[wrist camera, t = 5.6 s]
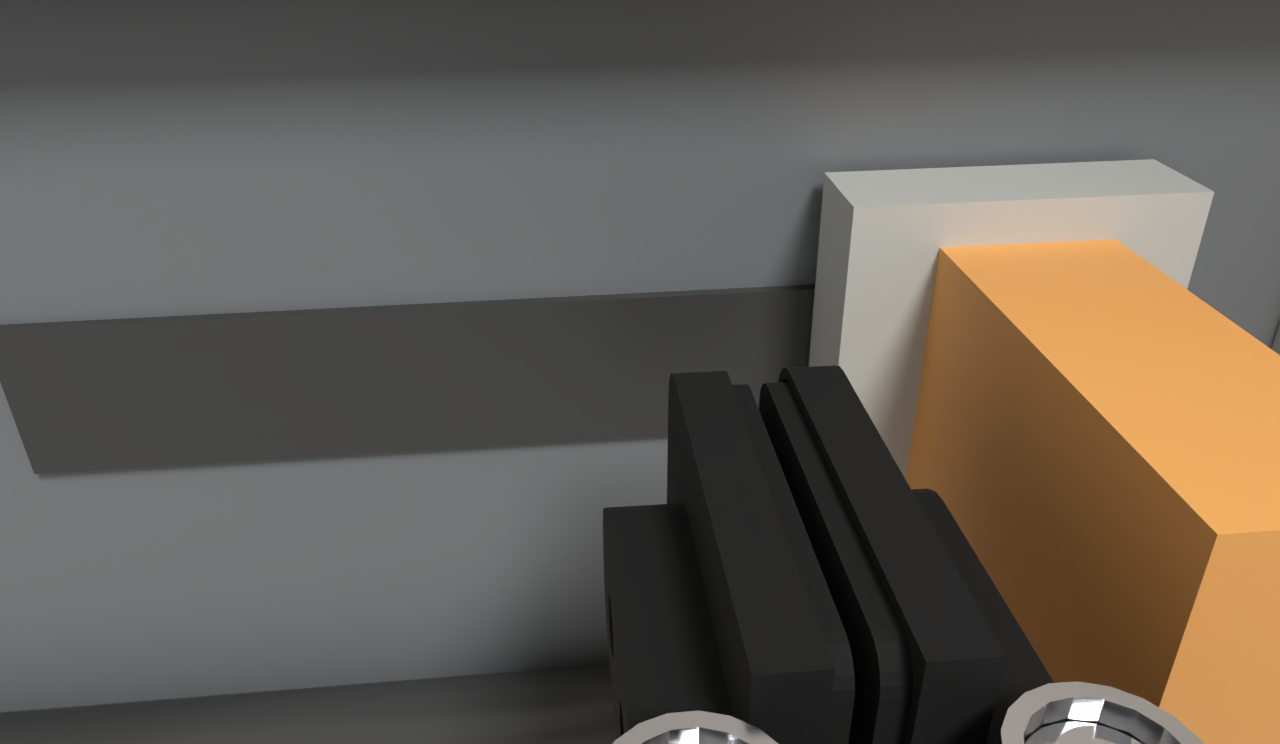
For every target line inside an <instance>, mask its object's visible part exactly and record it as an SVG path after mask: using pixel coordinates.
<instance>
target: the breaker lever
mask: <svg viewBox="0 0 1280 744" xmlns="http://www.w3.org/2000/svg"><path fill="white" fill-rule="evenodd" d="M1213 195H1214V191H1212V190H1210V189H1208V188H1207V187H1205V186H1203V185H1201V184H1199V183H1197V182H1195V181H1194V180H1192V179H1190V178H1188V177H1186V176H1184V175H1182V174H1181V173H1179V172H1177V171H1175V170H1173V169H1171V168H1169V167H1168V166H1166V165H1164V164H1162V163H1160V162H1158V161H1156V160H1155V159H1146V160H1121V161H1096V162H1072V163H1047V164H1022V165H998V166H973V167H948V168H924V169H899V170H874V171H849V172H825V173H824V184H823V196H822V208H821V221H820V233H819V245H818V257H817V269H816V282H815V294H814V306H813V318H812V330H811V343H810V355H809V367H813V366H833V365H837V366H840V367H841V368H842V370H843V371H844V373H845V374H846V376H847V378H848V380H849V381H850V383H851V385H852V387H853V388H854V390H855V392H856V394H857V395H858V397H859V399H860V401H861V402H862V404H863V406H864V408H865V409H866V411H867V413H868V415H869V416H870V418H871V420H872V422H873V423H874V425H875V427H876V429H877V430H878V432H879V434H880V436H881V437H882V439H883V441H884V443H885V444H886V446H887V448H888V450H889V451H890V453H891V455H892V457H893V458H894V460H895V462H896V464H897V465H898V467H899V469H900V471H901V472H902V474H903V476H904V478H905V479H906V481H907V483H908V485H909V486H910V488H911V489H927V488H928V489H931V490H933V491H936V493H937V494H938V495H939V496H940V497H941V499H942V500H943V501H944V503H945V504H946V506H947V507H948V509H949V511H950V512H951V514H952V516H953V517H954V519H955V521H956V522H957V524H958V525H959V527H960V529H961V530H962V532H963V534H964V535H965V537H966V539H967V540H968V542H969V544H970V545H971V547H972V548H973V550H974V552H975V553H976V555H977V557H978V558H979V560H980V562H981V563H982V565H983V566H984V568H985V570H986V571H987V573H988V575H989V576H990V578H991V580H992V581H993V583H994V585H995V586H996V588H997V589H998V591H999V593H1000V594H1001V596H1002V598H1003V599H1004V601H1005V603H1006V604H1007V606H1008V607H1009V609H1010V611H1011V612H1012V614H1013V616H1014V617H1015V619H1016V621H1017V622H1018V624H1019V626H1020V627H1021V629H1022V630H1023V632H1024V634H1025V635H1026V637H1027V639H1028V640H1029V642H1030V644H1031V645H1032V647H1033V648H1034V650H1035V652H1036V653H1037V655H1038V657H1039V658H1040V660H1041V662H1042V663H1043V665H1044V666H1045V668H1046V670H1047V671H1048V673H1049V675H1050V676H1051V678H1052V680H1053V681H1054V683H1061V682H1076V681H1079V682H1085V683H1092V684H1098V685H1104V686H1110V687H1113V688H1116V689H1119V690H1121V691H1124V692H1127V693H1130V694H1132V695H1135V696H1138V697H1141V698H1143V699H1145V700H1147V701H1149V702H1150V703H1152V704H1154V705H1155V706H1157V707H1159V708H1160V709H1162V710H1164V711H1166V712H1167V713H1169V714H1171V715H1172V716H1174V717H1175V718H1177V719H1178V720H1179V721H1180V722H1181V723H1182V724H1183V725H1185V726H1186V727H1187V728H1188V729H1189V730H1190V731H1191V732H1193V733H1194V734H1195V735H1196V736H1197V737H1198V738H1199V739H1201V740H1202V741H1203V743H1204V744H1280V355H1279V354H1277V353H1276V352H1274V351H1273V350H1272V349H1270V348H1269V347H1267V346H1266V345H1265V344H1263V343H1262V342H1260V341H1259V340H1257V339H1256V338H1255V337H1253V336H1252V335H1250V334H1249V333H1248V332H1246V331H1245V330H1243V329H1242V328H1241V327H1239V326H1238V325H1236V324H1235V323H1234V322H1232V321H1231V320H1229V319H1228V318H1226V317H1225V316H1224V315H1222V314H1221V313H1219V312H1218V311H1217V310H1215V309H1214V308H1212V307H1211V306H1210V305H1208V304H1207V303H1205V302H1204V301H1203V300H1201V299H1200V298H1198V297H1197V296H1195V295H1194V294H1193V293H1191V292H1190V291H1188V290H1187V288H1188V285H1189V281H1190V277H1191V274H1192V270H1193V267H1194V263H1195V260H1196V256H1197V252H1198V249H1199V245H1200V242H1201V238H1202V235H1203V231H1204V227H1205V224H1206V220H1207V217H1208V213H1209V210H1210V206H1211V202H1212V199H1213Z"/></svg>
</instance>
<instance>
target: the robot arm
mask: <svg viewBox="0 0 1280 744" xmlns="http://www.w3.org/2000/svg"><path fill="white" fill-rule="evenodd" d="M603 555H604V587H605V608H606V625H607V639H608V651H609V663H610V673H611V683H612V694H613V704H614V715H615V725H616V736H617V739H616V740H615V741H614V742H613V744H1204V743H1203V741H1202V740H1201V739H1199V738H1198V737H1197V736H1196V735H1195V734H1194V733H1193V732H1191V731H1190V730H1189V729H1188V728H1187V727H1186V726H1185V725H1183V724H1182V723H1181V722H1180V721H1179V720H1178V719H1177V718H1175V717H1174V716H1172V715H1171V714H1169V713H1167V712H1166V711H1164V710H1162V709H1160V708H1159V707H1157V706H1155V705H1154V704H1152V703H1150V702H1149V701H1147V700H1145V699H1143V698H1141V697H1138V696H1135V695H1132V694H1130V693H1127V692H1124V691H1121V690H1119V689H1116V688H1113V687H1110V686H1104V685H1098V684H1092V683H1085V682H1079V681H1076V682H1061V683H1054V681H1053V680H1052V678H1051V676H1050V675H1049V673H1048V671H1047V670H1046V668H1045V666H1044V665H1043V663H1042V662H1041V660H1040V658H1039V657H1038V655H1037V653H1036V652H1035V650H1034V648H1033V647H1032V645H1031V644H1030V642H1029V640H1028V639H1027V637H1026V635H1025V634H1024V632H1023V630H1022V629H1021V627H1020V626H1019V624H1018V622H1017V621H1016V619H1015V617H1014V616H1013V614H1012V612H1011V611H1010V609H1009V607H1008V606H1007V604H1006V603H1005V601H1004V599H1003V598H1002V596H1001V594H1000V593H999V591H998V589H997V588H996V586H995V585H994V583H993V581H992V580H991V578H990V576H989V575H988V573H987V571H986V570H985V568H984V566H983V565H982V563H981V562H980V560H979V558H978V557H977V555H976V553H975V552H974V550H973V548H972V547H971V545H970V544H969V542H968V540H967V539H966V537H965V535H964V534H963V532H962V530H961V529H960V527H959V525H958V524H957V522H956V521H955V519H954V517H953V516H952V514H951V512H950V511H949V509H948V507H947V506H946V504H945V503H944V501H943V500H942V499H941V497H940V496H939V495H938V494H937V493H936V491H933V490H931V489H928V488H927V489H911V488H910V486H909V485H908V483H907V481H906V479H905V478H904V476H903V474H902V472H901V471H900V469H899V467H898V465H897V464H896V462H895V460H894V458H893V457H892V455H891V453H890V451H889V450H888V448H887V446H886V444H885V443H884V441H883V439H882V437H881V436H880V434H879V432H878V430H877V429H876V427H875V425H874V423H873V422H872V420H871V418H870V416H869V415H868V413H867V411H866V409H865V408H864V406H863V404H862V402H861V401H860V399H859V397H858V395H857V394H856V392H855V390H854V388H853V387H852V385H851V383H850V381H849V380H848V378H847V376H846V374H845V373H844V371H843V370H842V368H841V367H840V366H837V365H833V366H813V367H792V368H783V369H782V370H781V372H780V376H779V379H778V382H777V383H763V385H762V386H761V390H760V398H759V409H758V406H757V404H756V401H755V399H754V396H753V394H752V391H751V388H750V387H749V385H748V384H737V385H732V383H731V380H730V378H729V375H728V373H727V371H710V372H689V373H671V375H670V379H669V392H668V456H667V504H659V505H642V506H625V507H608V508H604V509H603Z"/></svg>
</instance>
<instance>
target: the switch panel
mask: <svg viewBox="0 0 1280 744" xmlns="http://www.w3.org/2000/svg"><path fill="white" fill-rule="evenodd" d="M1146 159H1155V160H1156V161H1158V162H1160V163H1162V164H1164V165H1166V166H1168V167H1169V168H1171V169H1173V170H1175V171H1177V172H1179V173H1181V174H1182V175H1184V176H1186V177H1188V178H1190V179H1192V180H1194V181H1195V182H1197V183H1199V184H1201V185H1203V186H1205V187H1207V188H1208V189H1210V190H1212V191H1214V195H1213V199H1212V202H1211V206H1210V210H1209V213H1208V217H1207V220H1206V224H1205V227H1204V231H1203V235H1202V238H1201V242H1200V245H1199V249H1198V252H1197V256H1196V260H1195V263H1194V267H1193V270H1192V274H1191V277H1190V281H1189V285H1188V288H1187V290H1188V291H1190V292H1191V293H1193V294H1194V295H1195V296H1197V297H1198V298H1200V299H1201V300H1203V301H1204V302H1205V303H1207V304H1208V305H1210V306H1211V307H1212V308H1214V309H1215V310H1217V311H1218V312H1219V313H1221V314H1222V315H1224V316H1225V317H1226V318H1228V319H1229V320H1231V321H1232V322H1234V323H1235V324H1236V325H1238V326H1239V327H1241V328H1242V329H1243V330H1245V331H1246V332H1248V333H1249V334H1250V335H1252V336H1253V337H1255V338H1256V339H1257V340H1259V341H1260V342H1262V343H1263V344H1265V345H1266V346H1267V347H1269V348H1270V349H1272V350H1273V351H1274V352H1276V353H1277V354H1279V355H1280V0H0V744H613V742H614V741H615V740H616V739H617V736H616V725H615V715H614V704H613V694H612V683H611V673H610V663H609V651H608V639H607V625H606V608H605V587H604V555H603V509H604V508H608V507H625V506H642V505H659V504H667V456H668V392H669V379H670V375H671V373H689V372H710V371H727V373H728V375H729V378H730V380H731V383H732V385H737V384H748V385H749V387H750V388H751V391H752V394H753V396H754V399H755V401H756V404H757V406H758V409H759V398H760V390H761V386H762V385H763V383H777V382H778V379H779V376H780V372H781V370H782V369H783V368H792V367H809V355H810V343H811V330H812V318H813V306H814V294H815V282H816V269H817V257H818V245H819V233H820V221H821V208H822V196H823V184H824V173H825V172H849V171H874V170H899V169H924V168H948V167H973V166H998V165H1022V164H1047V163H1072V162H1096V161H1121V160H1146Z"/></svg>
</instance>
